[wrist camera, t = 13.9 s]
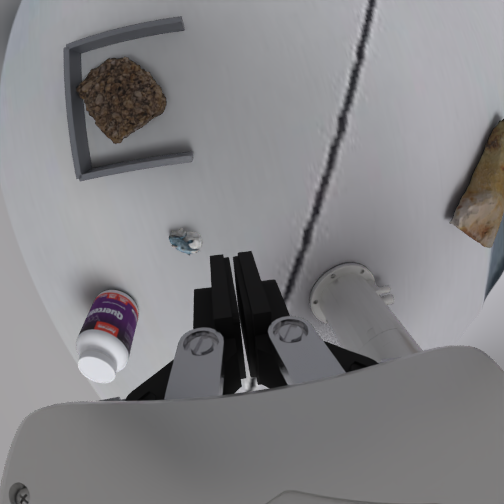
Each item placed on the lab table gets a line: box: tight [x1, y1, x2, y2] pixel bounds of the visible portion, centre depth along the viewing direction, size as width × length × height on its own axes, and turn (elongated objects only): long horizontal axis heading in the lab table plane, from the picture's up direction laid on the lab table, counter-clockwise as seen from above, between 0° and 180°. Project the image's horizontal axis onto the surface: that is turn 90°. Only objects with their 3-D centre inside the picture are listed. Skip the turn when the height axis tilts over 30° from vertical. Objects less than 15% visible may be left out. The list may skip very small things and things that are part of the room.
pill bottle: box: [76, 290, 139, 383], centre depth 39 cm, size 8×8×14 cm
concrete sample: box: [76, 57, 166, 144], centre depth 30 cm, size 12×10×5 cm
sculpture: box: [169, 228, 202, 255], centre depth 40 cm, size 10×12×6 cm
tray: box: [64, 16, 193, 181], centre depth 30 cm, size 15×19×4 cm
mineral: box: [449, 119, 504, 248], centre depth 40 cm, size 26×9×10 cm
